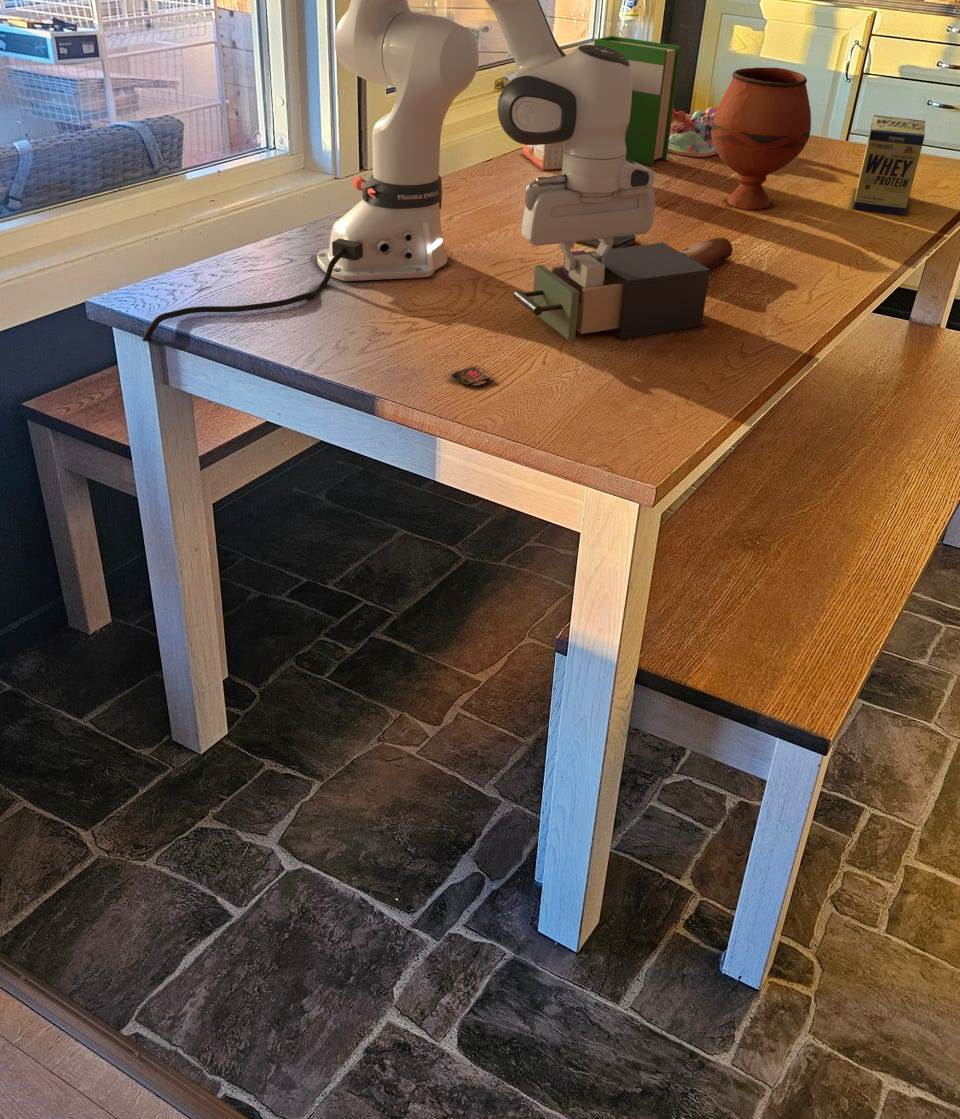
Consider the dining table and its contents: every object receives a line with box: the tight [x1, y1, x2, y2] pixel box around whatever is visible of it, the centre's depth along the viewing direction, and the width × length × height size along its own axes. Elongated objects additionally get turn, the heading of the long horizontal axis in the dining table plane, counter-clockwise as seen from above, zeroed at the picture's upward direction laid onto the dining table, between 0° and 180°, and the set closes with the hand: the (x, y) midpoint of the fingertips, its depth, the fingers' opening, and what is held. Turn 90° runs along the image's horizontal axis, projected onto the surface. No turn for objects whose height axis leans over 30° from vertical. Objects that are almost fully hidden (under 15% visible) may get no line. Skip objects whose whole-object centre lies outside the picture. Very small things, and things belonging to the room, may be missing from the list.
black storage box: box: [585, 242, 711, 340], centre depth 168 cm, size 15×13×9 cm
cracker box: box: [522, 142, 564, 171], centre depth 239 cm, size 14×6×21 cm, turn 17°
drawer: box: [512, 264, 624, 341], centre depth 164 cm, size 18×12×7 cm, turn 114°
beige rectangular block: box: [563, 250, 605, 288], centre depth 162 cm, size 7×3×3 cm, turn 24°
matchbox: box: [450, 366, 491, 387], centre depth 150 cm, size 5×5×1 cm
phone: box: [577, 235, 636, 249], centre depth 202 cm, size 8×1×15 cm
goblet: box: [711, 67, 812, 211], centre depth 217 cm, size 19×19×25 cm
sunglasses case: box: [677, 237, 733, 270], centre depth 189 cm, size 18×7×7 cm
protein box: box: [852, 114, 926, 216], centre depth 224 cm, size 10×16×16 cm
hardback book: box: [593, 35, 682, 166], centre depth 246 cm, size 18×7×24 cm, turn 54°
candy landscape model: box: [667, 106, 718, 158], centre depth 260 cm, size 25×24×9 cm
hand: (584, 267), depth 162 cm, fingers closed on beige rectangular block, 3 cm apart
